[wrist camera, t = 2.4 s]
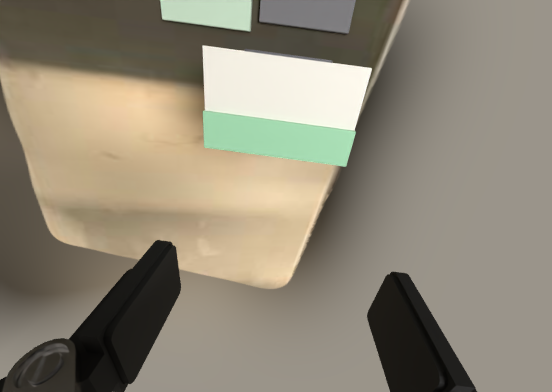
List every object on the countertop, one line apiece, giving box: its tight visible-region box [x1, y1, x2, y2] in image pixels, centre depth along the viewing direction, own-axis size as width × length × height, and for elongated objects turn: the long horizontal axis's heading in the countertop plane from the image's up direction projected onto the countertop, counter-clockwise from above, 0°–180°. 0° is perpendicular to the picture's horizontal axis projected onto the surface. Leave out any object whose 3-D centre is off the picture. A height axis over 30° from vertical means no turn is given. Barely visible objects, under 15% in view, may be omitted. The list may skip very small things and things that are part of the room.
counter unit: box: [203, 46, 372, 166], centre depth 21 cm, size 7×10×16 cm, turn 83°
